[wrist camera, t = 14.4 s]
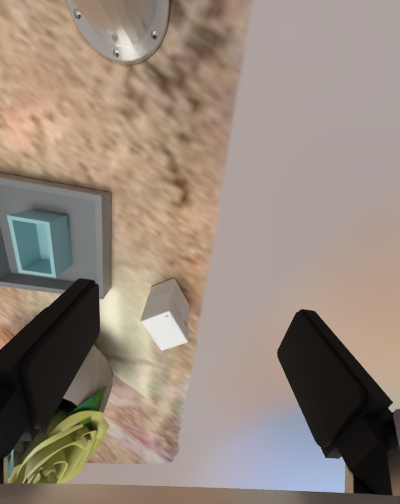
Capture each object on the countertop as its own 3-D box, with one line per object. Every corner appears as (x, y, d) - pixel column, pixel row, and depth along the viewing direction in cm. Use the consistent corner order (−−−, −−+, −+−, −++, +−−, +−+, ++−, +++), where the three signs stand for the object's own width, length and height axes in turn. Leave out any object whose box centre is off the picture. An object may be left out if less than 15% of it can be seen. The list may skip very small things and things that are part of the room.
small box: (151, 285, 41) (138, 321, 32) (174, 276, 41) (169, 310, 31) (167, 312, 44) (160, 352, 35) (189, 304, 44) (188, 342, 34)
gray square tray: (-13, 170, 32) (-41, 170, 28) (111, 192, 33) (101, 195, 30) (11, 274, 39) (-8, 285, 36) (111, 287, 41) (103, 299, 38)
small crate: (32, 208, 33) (6, 215, 29) (68, 215, 34) (49, 222, 29) (40, 259, 37) (18, 272, 32) (72, 264, 38) (55, 277, 33)
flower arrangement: (38, 378, 52) (-79, 536, 30) (19, 304, 42) (-178, 457, 20) (131, 384, 54) (88, 536, 32) (133, 316, 44) (72, 464, 22)
